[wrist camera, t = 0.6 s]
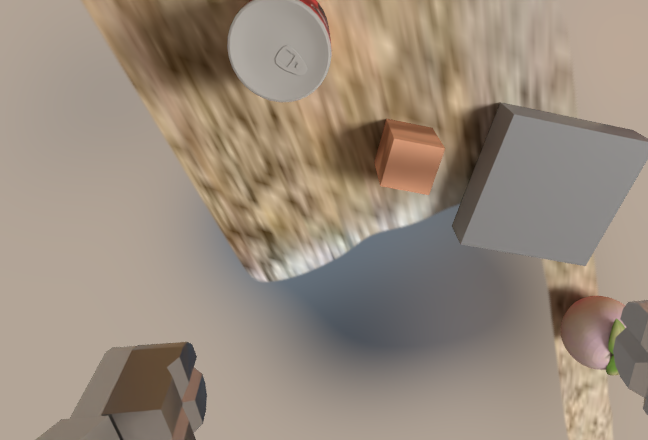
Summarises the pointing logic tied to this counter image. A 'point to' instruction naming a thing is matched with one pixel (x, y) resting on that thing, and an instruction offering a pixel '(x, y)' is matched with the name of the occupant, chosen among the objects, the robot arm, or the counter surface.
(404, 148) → the terracotta block
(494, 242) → the base slab
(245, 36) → the canned food
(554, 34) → the counter surface
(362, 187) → the counter surface
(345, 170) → the counter surface
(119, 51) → the counter surface
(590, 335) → the decorative fruit
